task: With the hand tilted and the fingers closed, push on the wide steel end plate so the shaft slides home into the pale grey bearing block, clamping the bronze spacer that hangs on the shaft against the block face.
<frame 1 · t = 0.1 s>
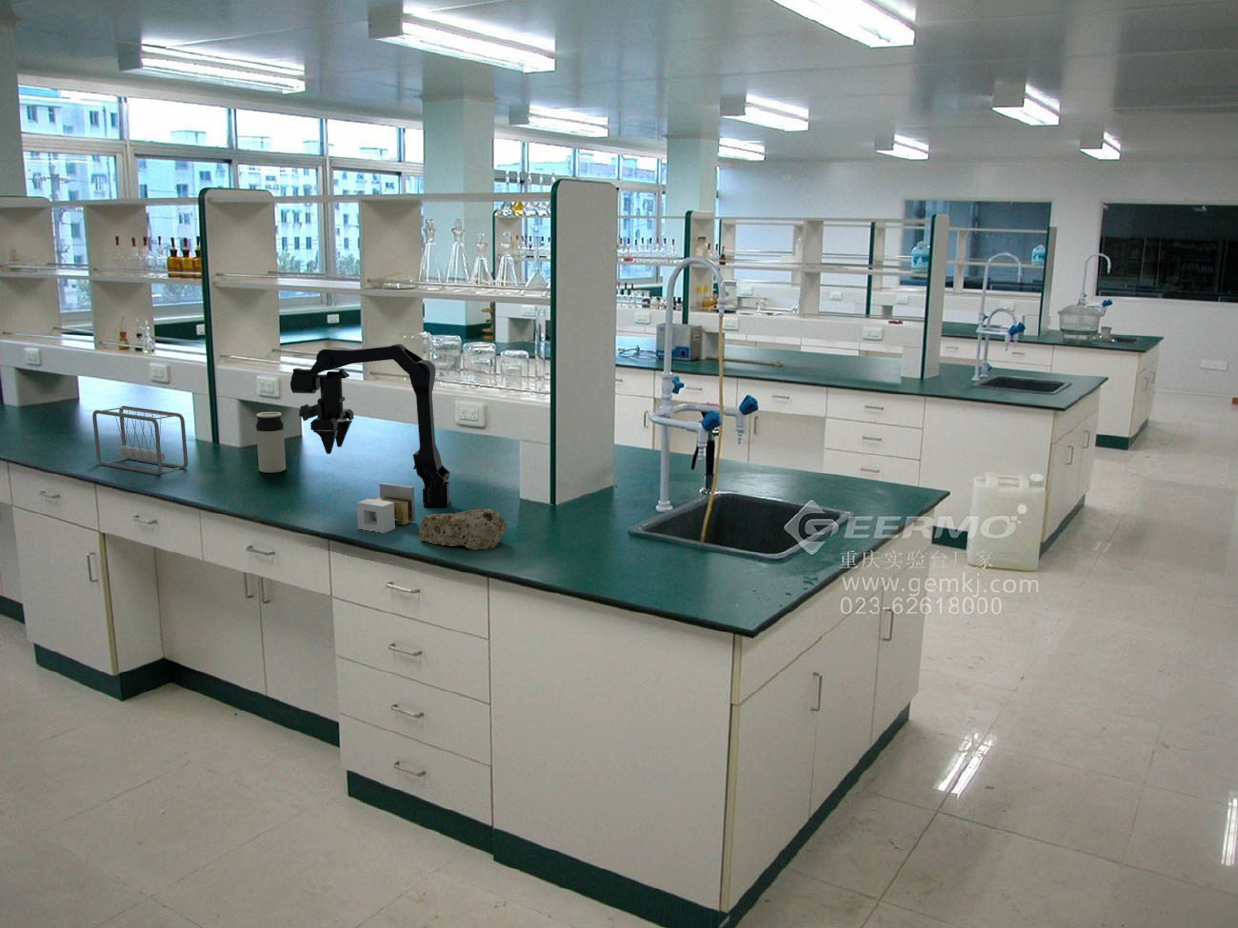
hand: (334, 450, 274), 15 cm above the countertop, tool pointing down, fingers open, 9 cm apart
rock: (464, 541, 245), on the countertop
block: (376, 529, 253), on the countertop
spacer: (391, 523, 258), touching shaft
travel mug: (272, 471, 313), on the countertop
shaft: (387, 505, 256), point 5 cm above the countertop, slide at 0.0 cm, touching spacer
newton's cradle: (142, 467, 315), on the countertop
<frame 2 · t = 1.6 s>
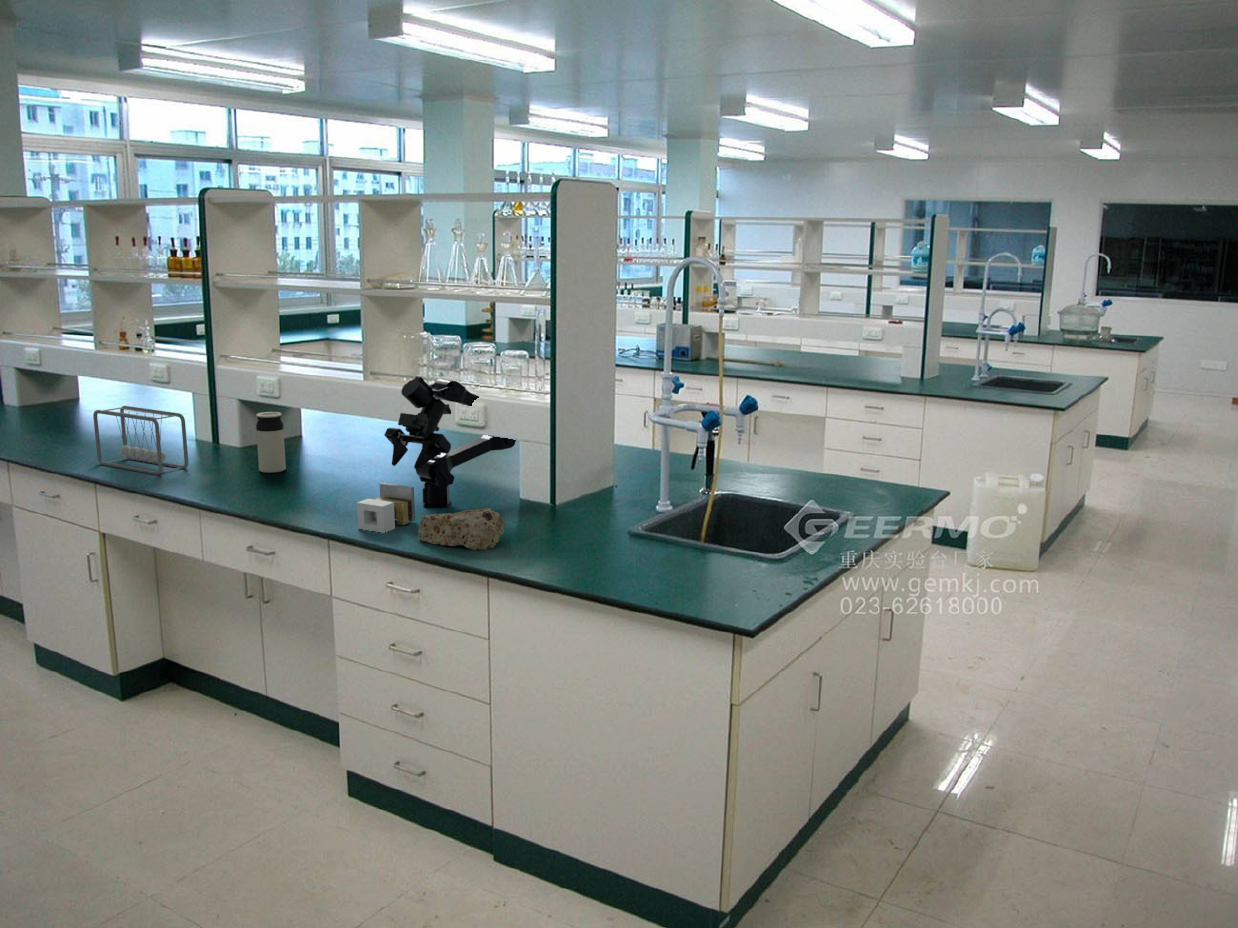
hand: (404, 466, 262), 13 cm above the countertop, tool tilted 45°, fingers open, 7 cm apart
nothing on the countertop moved.
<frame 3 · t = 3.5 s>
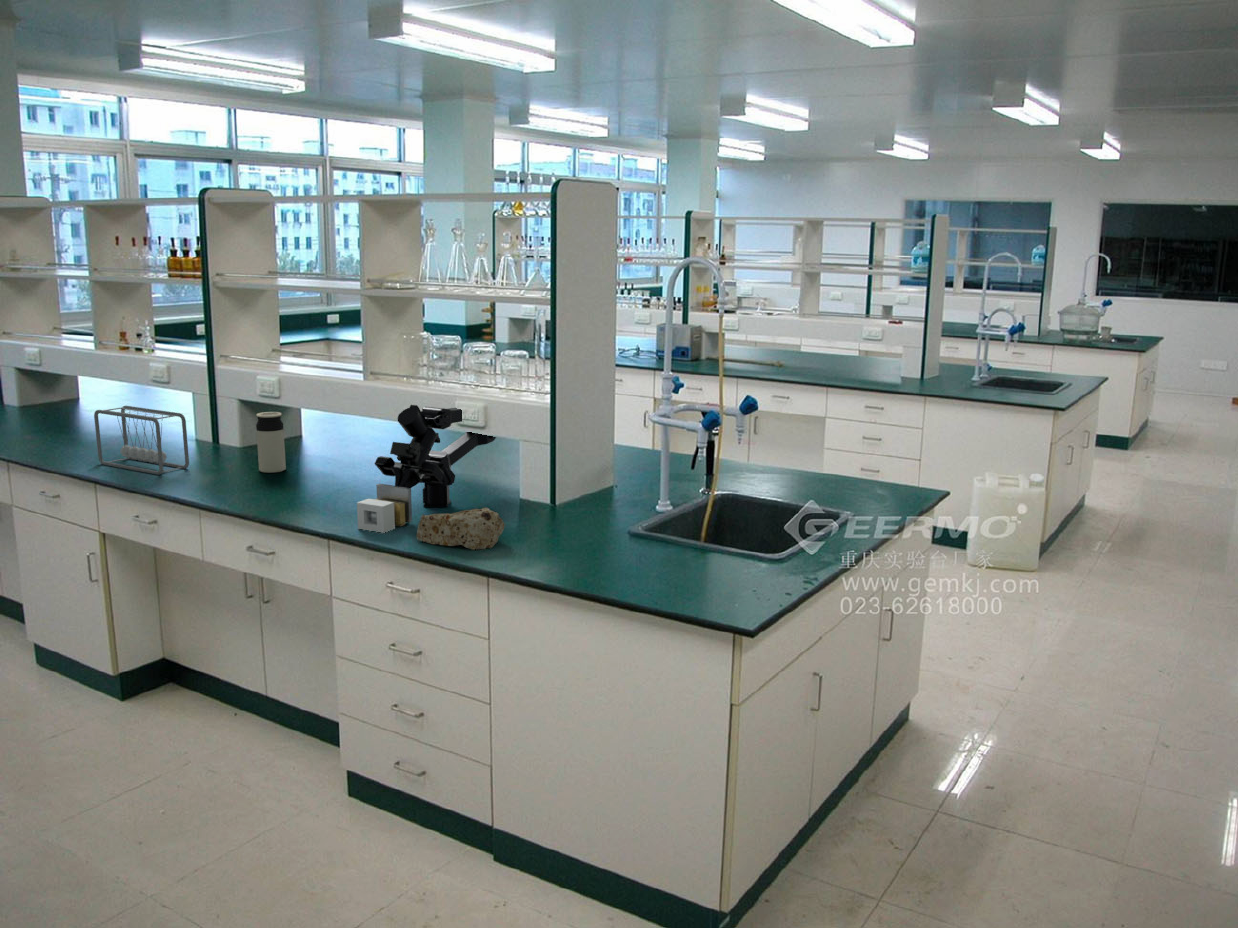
hand: (396, 496, 259), 7 cm above the countertop, tool tilted 45°, fingers closed, pressing on shaft
spacer: (388, 524, 257), touching shaft
shaft: (384, 506, 254), point 5 cm above the countertop, slide at 1.3 cm, touching gripper, spacer
everything else where it was.
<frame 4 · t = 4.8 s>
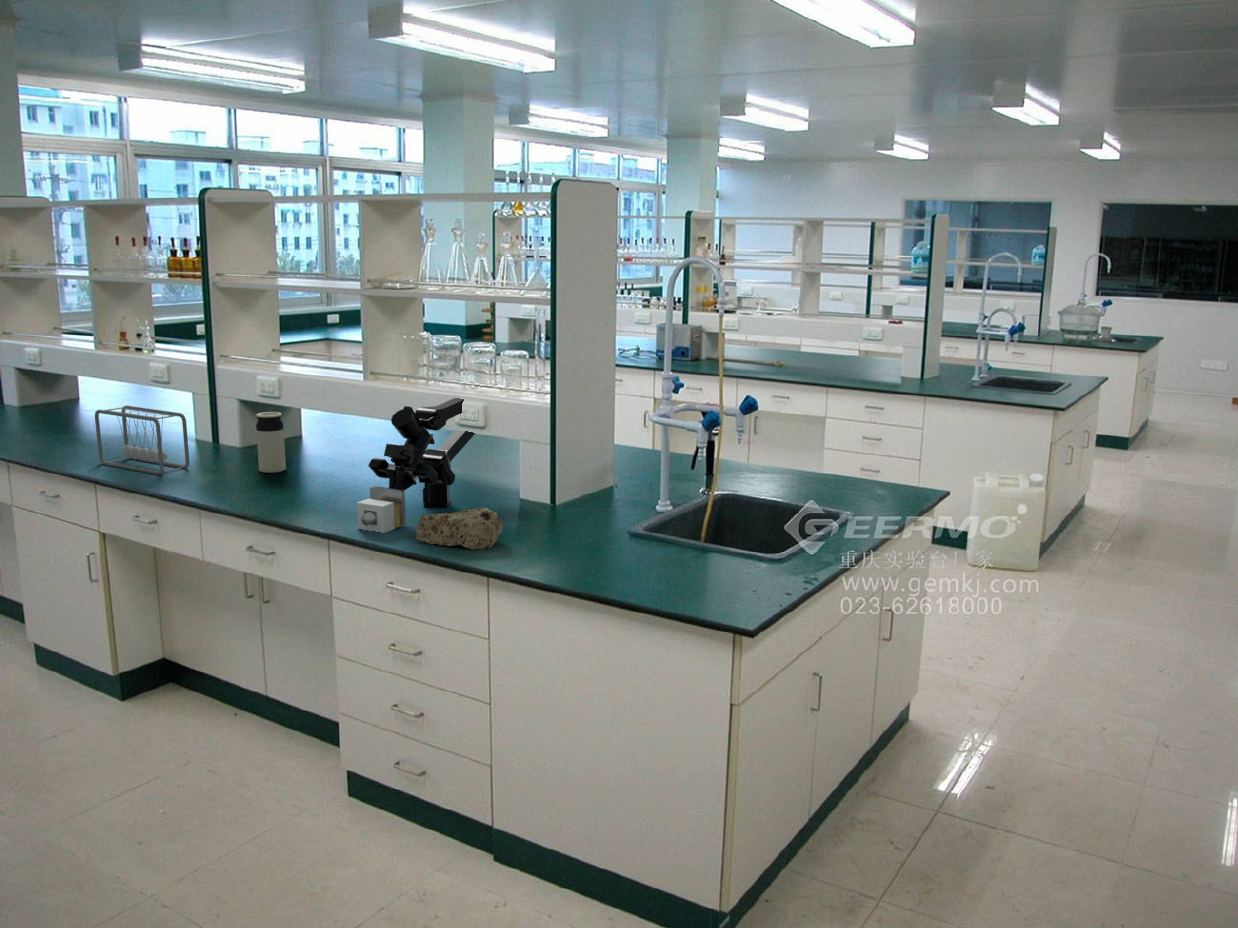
hand: (390, 498, 256), 7 cm above the countertop, tool tilted 45°, fingers closed
spacer: (384, 526, 255), touching block, shaft
shaft: (377, 509, 252), point 5 cm above the countertop, slide at 4.0 cm, touching spacer
everything else where it was.
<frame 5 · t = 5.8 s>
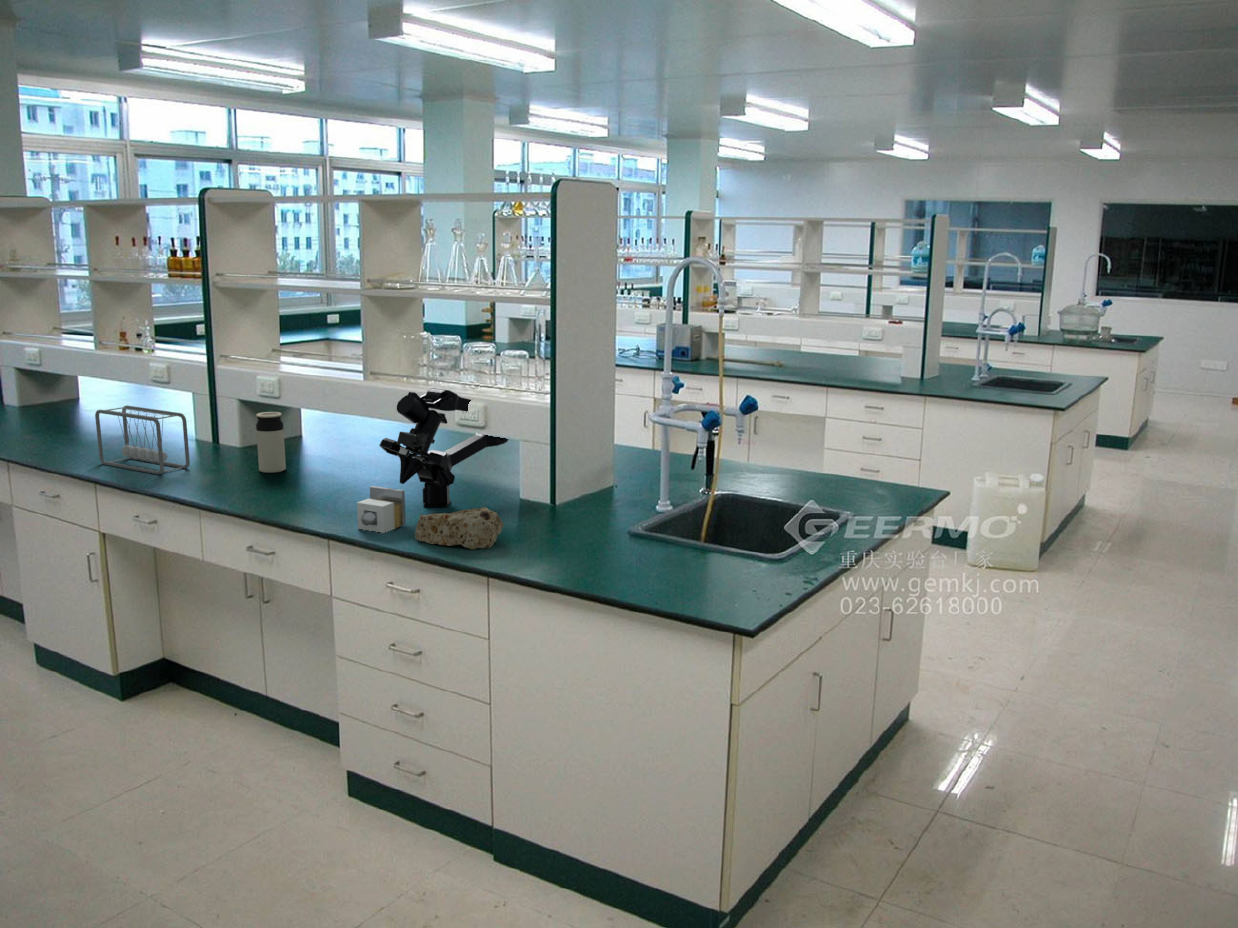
hand: (401, 483, 264), 9 cm above the countertop, tool tilted 35°, fingers closed
nothing on the countertop moved.
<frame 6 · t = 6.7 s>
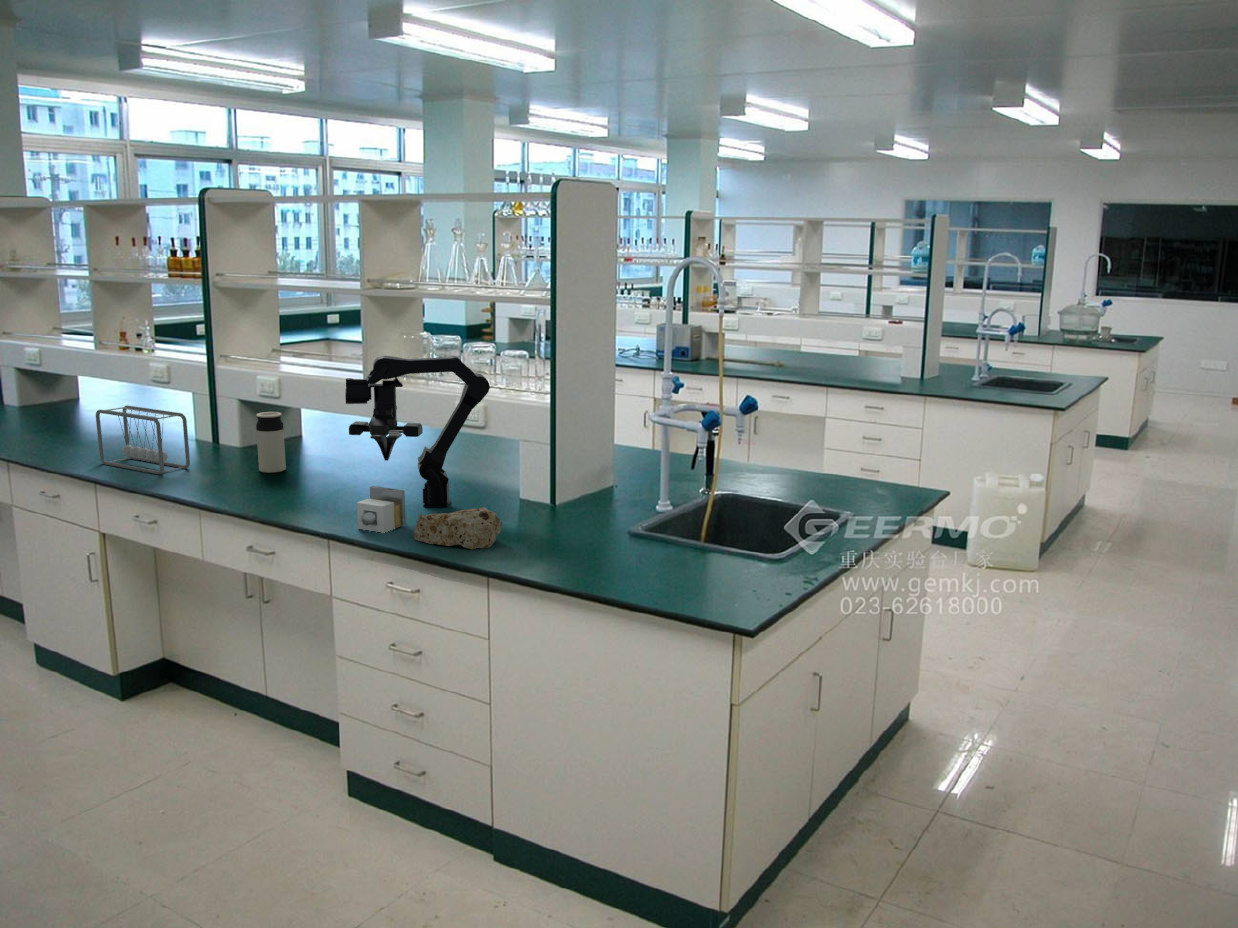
hand: (386, 460, 270), 13 cm above the countertop, tool pointing down, fingers closed
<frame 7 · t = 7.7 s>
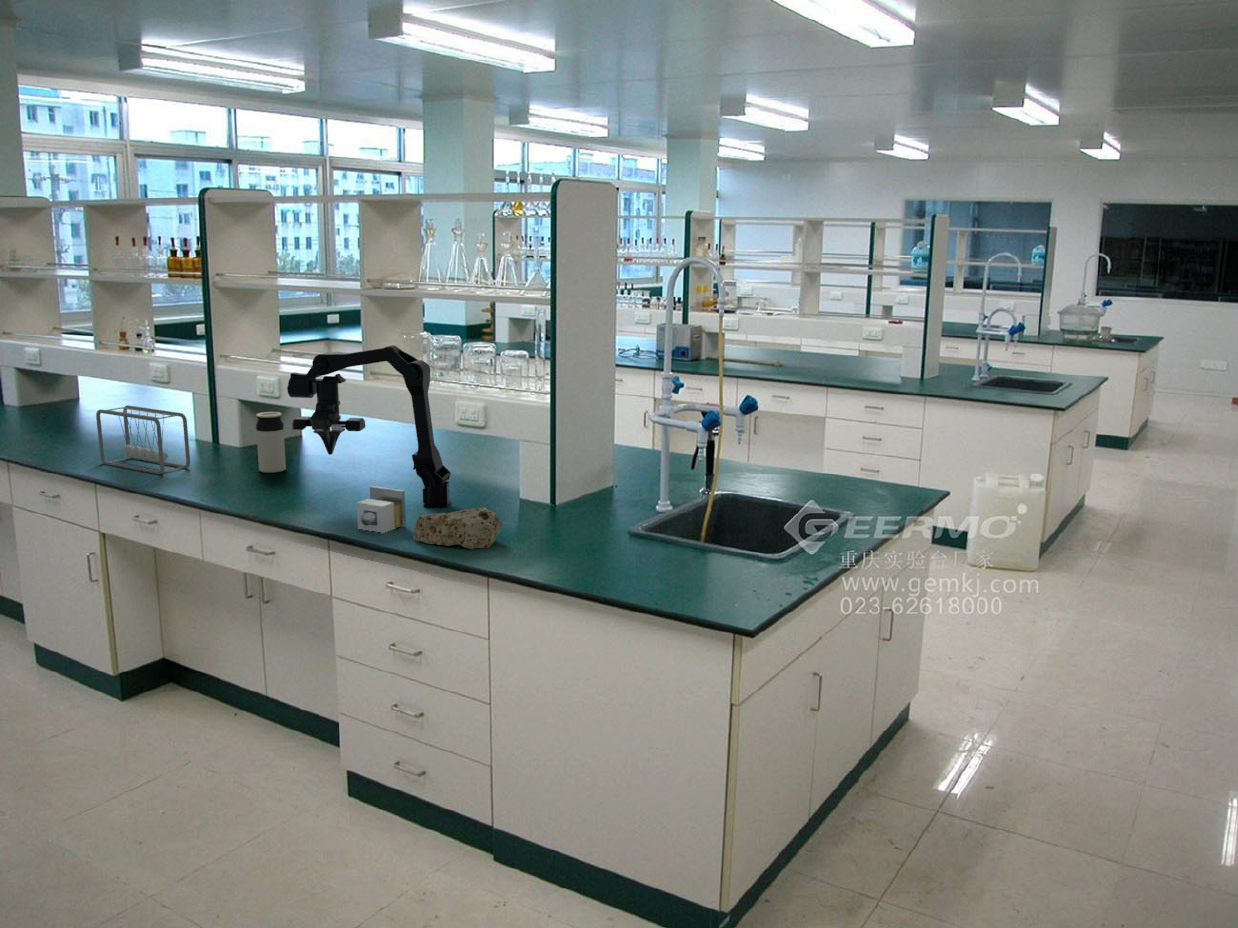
hand: (330, 454, 276), 13 cm above the countertop, tool pointing down, fingers closed
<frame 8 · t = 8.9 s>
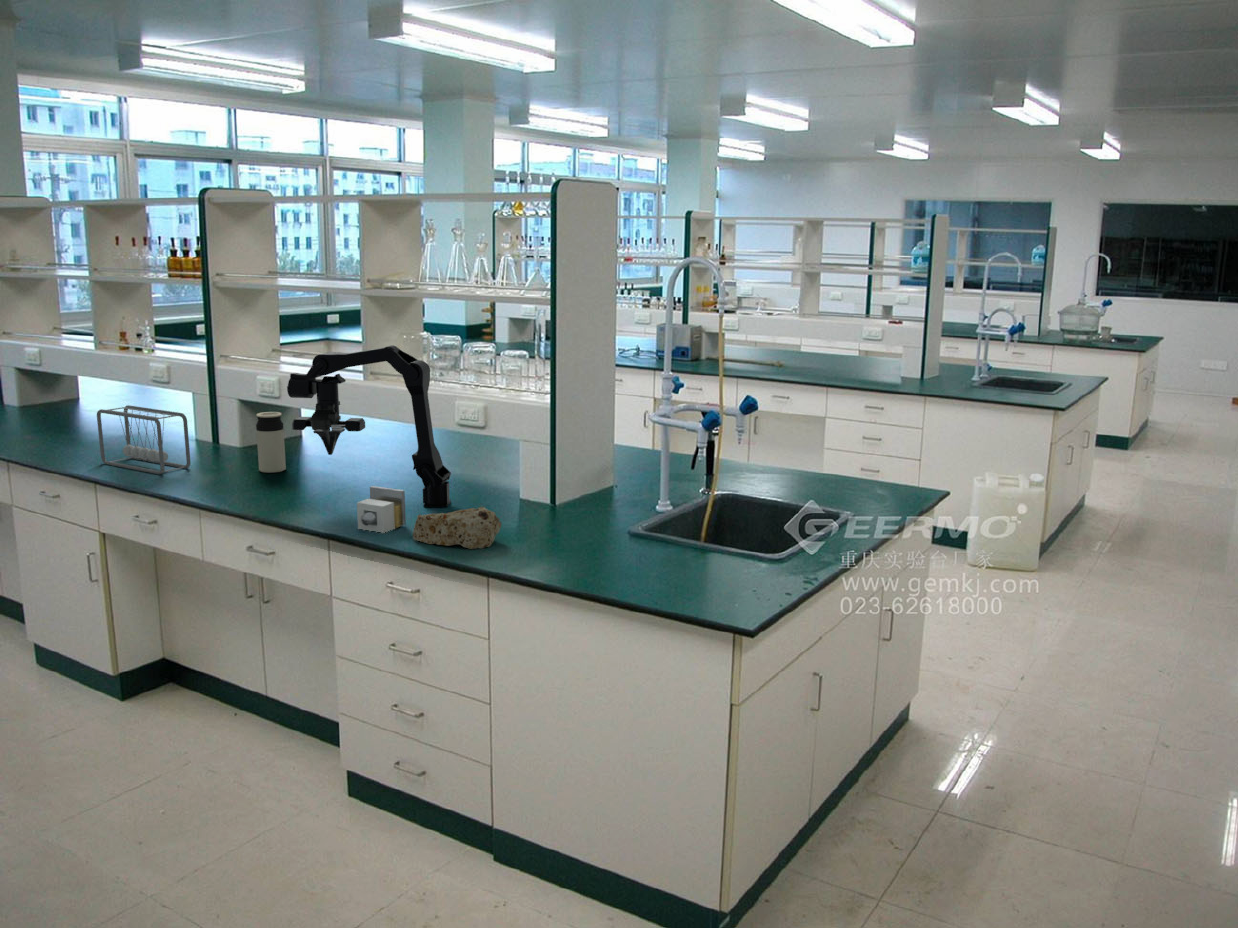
hand: (330, 454, 276), 13 cm above the countertop, tool pointing down, fingers closed
at the end: shaft slide at 4.0 cm; spacer 3.2 cm from the block (horizontally); spacer tilted 0° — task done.
